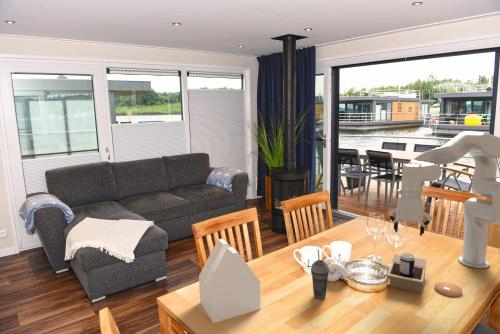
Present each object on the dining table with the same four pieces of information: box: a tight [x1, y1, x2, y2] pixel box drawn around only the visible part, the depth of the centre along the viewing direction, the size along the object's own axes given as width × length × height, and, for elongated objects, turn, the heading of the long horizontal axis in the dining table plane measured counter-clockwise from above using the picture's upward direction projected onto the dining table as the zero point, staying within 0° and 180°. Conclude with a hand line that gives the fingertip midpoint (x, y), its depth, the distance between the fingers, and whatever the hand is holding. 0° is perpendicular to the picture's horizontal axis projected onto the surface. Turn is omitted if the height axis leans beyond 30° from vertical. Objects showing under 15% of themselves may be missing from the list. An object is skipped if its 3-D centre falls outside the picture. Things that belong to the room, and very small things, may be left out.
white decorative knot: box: [323, 257, 350, 282], centre depth 158 cm, size 11×12×9 cm
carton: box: [385, 253, 427, 293], centre depth 154 cm, size 23×14×7 cm, turn 150°
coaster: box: [434, 281, 463, 298], centre depth 147 cm, size 10×10×1 cm
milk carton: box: [198, 238, 262, 324], centre depth 138 cm, size 19×15×25 cm
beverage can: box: [398, 252, 415, 279], centre depth 154 cm, size 6×6×12 cm
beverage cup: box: [310, 249, 329, 301], centre depth 143 cm, size 7×7×20 cm
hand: (408, 233), depth 151 cm, fingers open, 9 cm apart
